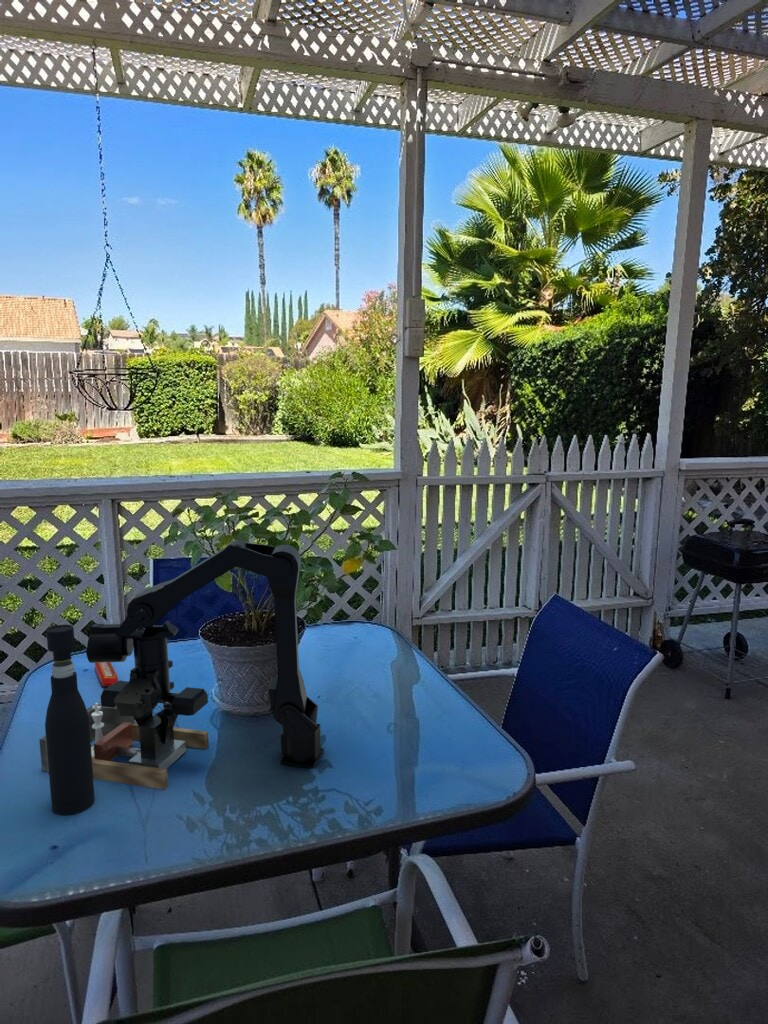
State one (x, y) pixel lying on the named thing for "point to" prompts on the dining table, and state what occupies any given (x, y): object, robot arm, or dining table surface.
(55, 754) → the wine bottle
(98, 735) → the chess piece
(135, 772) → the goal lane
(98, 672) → the candy bar
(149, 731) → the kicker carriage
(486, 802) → the dining table surface
